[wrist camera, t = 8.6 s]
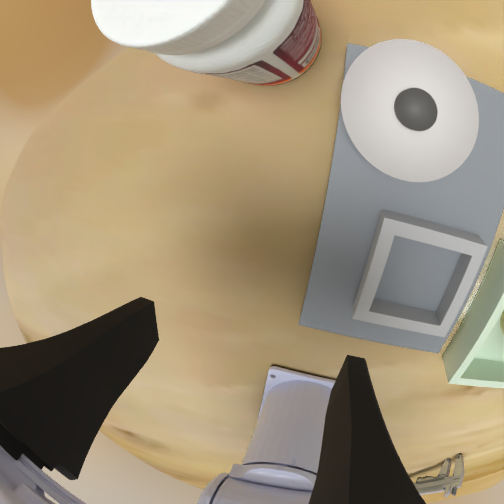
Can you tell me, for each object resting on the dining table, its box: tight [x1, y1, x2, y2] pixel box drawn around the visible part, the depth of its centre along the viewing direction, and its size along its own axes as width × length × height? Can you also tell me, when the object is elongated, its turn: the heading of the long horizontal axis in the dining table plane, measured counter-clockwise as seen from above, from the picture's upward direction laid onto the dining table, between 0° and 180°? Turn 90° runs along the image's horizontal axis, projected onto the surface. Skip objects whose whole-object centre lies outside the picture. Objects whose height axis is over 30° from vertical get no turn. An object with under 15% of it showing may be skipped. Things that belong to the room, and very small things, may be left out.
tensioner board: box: [299, 39, 504, 353], centre depth 15 cm, size 18×11×4 cm, turn 174°
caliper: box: [413, 454, 464, 497], centre depth 27 cm, size 20×1×6 cm, turn 143°
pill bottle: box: [91, 0, 321, 85], centre depth 9 cm, size 6×6×11 cm
